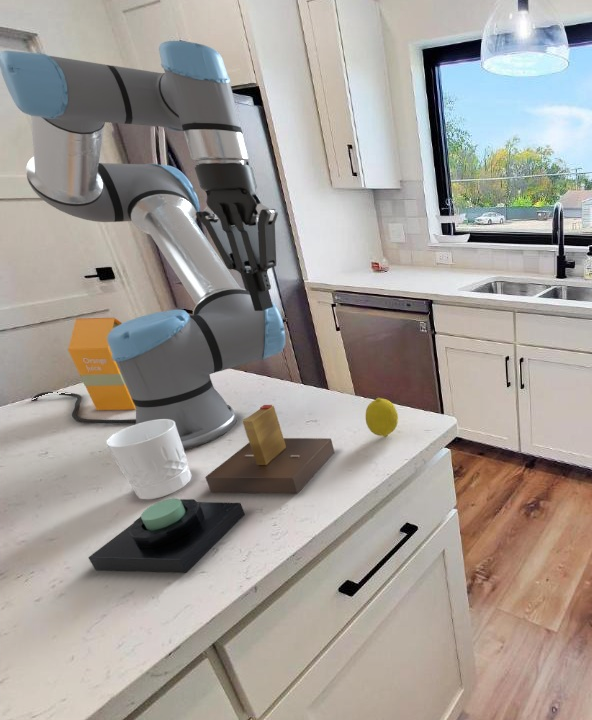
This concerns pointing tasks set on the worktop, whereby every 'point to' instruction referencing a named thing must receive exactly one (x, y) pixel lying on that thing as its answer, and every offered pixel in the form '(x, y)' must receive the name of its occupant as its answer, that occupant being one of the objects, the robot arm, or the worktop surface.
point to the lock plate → (272, 468)
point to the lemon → (381, 417)
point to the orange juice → (99, 364)
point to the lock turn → (264, 434)
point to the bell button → (163, 514)
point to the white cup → (151, 458)
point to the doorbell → (169, 540)
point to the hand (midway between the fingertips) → (264, 308)
